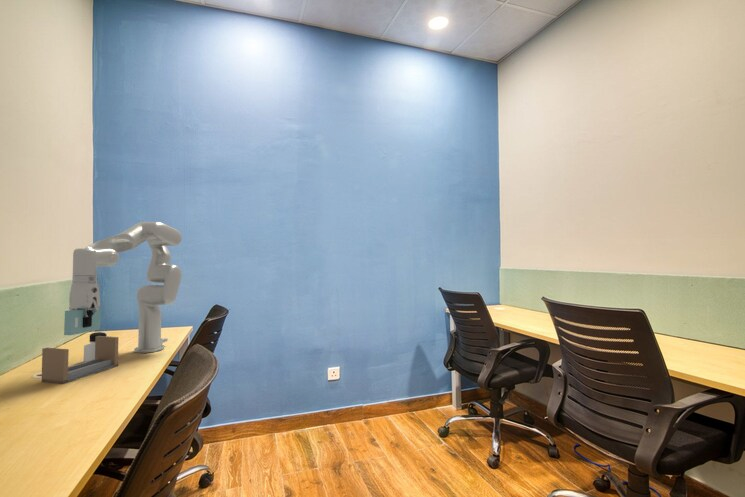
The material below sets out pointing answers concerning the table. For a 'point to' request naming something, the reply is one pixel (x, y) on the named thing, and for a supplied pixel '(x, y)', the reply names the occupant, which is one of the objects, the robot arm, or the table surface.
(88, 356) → the medicine bottle
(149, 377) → the table surface
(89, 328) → the door panel
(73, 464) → the table surface
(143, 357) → the table surface
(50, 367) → the door frame
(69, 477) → the table surface
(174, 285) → the robot arm
